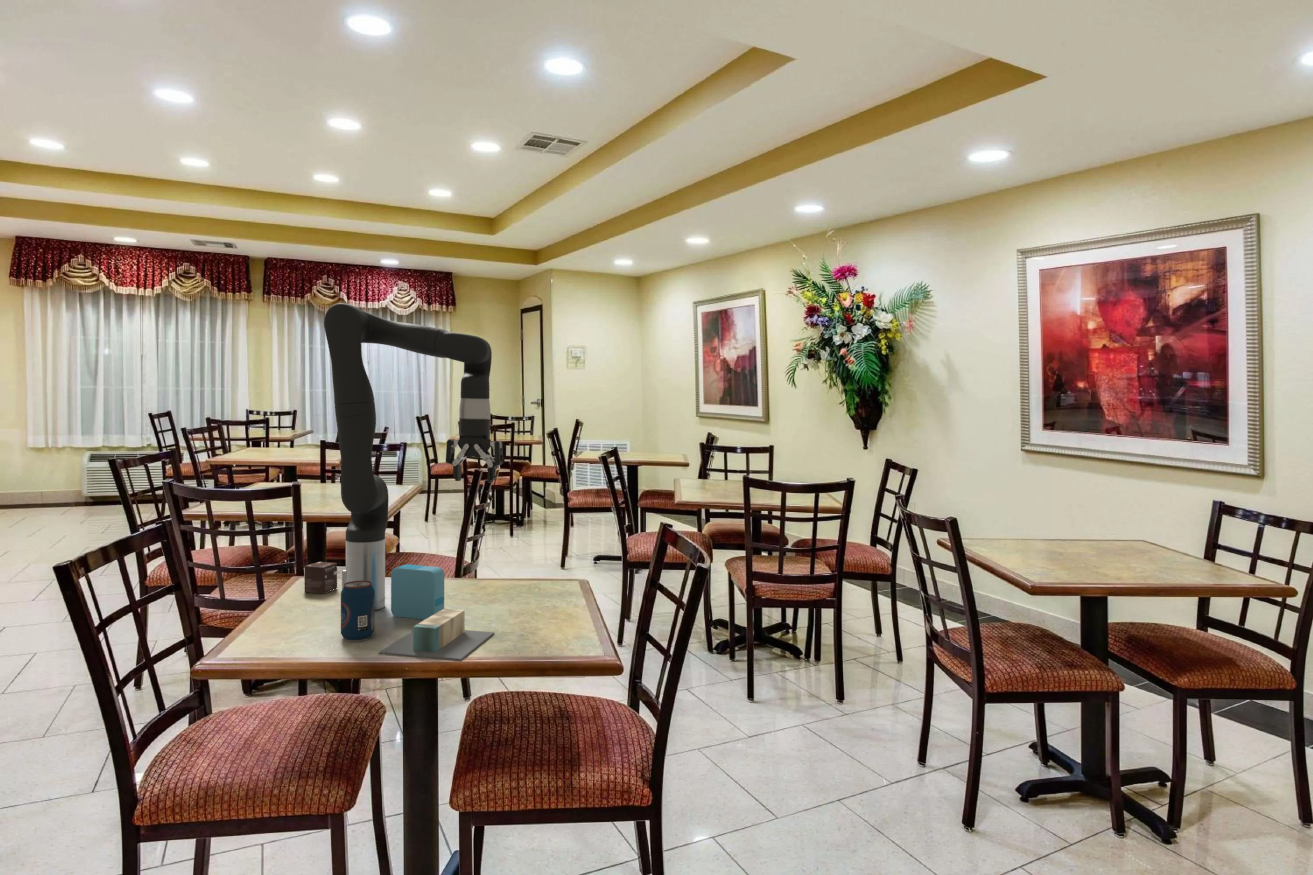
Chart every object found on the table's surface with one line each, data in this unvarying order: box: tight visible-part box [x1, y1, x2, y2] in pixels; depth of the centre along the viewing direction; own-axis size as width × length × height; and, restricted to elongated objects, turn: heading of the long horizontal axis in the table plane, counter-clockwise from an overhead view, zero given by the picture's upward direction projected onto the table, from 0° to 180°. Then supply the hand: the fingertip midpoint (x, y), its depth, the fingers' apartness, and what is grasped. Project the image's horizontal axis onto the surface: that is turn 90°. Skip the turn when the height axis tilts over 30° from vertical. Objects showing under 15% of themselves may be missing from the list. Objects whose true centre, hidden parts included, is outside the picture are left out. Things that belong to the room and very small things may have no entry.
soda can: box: [340, 581, 376, 642], centre depth 168 cm, size 7×7×12 cm
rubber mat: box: [378, 629, 495, 662], centre depth 165 cm, size 18×18×1 cm
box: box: [304, 561, 338, 594], centre depth 207 cm, size 6×6×7 cm
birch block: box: [412, 608, 466, 652], centre depth 166 cm, size 5×5×14 cm
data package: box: [390, 563, 445, 621], centre depth 185 cm, size 12×4×12 cm, turn 74°
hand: (474, 481), depth 192 cm, fingers open, 8 cm apart
